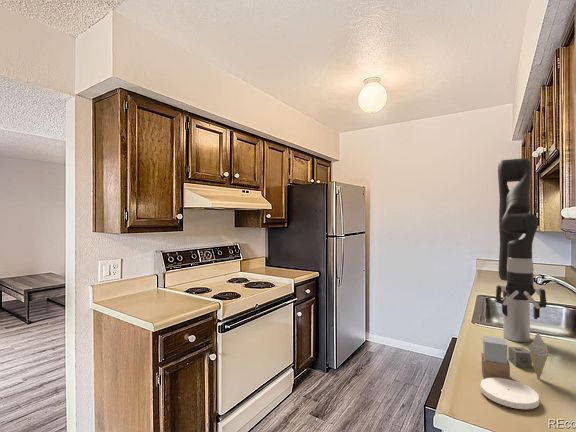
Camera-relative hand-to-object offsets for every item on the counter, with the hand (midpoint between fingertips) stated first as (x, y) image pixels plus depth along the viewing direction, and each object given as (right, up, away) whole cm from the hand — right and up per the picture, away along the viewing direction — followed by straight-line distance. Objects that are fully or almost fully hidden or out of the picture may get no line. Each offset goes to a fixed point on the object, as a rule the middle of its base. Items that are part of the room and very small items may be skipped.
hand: (520, 317), depth 113 cm
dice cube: (0, -17, +1) cm, 17 cm away
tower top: (-14, -11, -8) cm, 20 cm away
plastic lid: (-18, -17, -20) cm, 32 cm away
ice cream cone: (-1, -17, -10) cm, 19 cm away
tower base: (-14, -17, -8) cm, 24 cm away
